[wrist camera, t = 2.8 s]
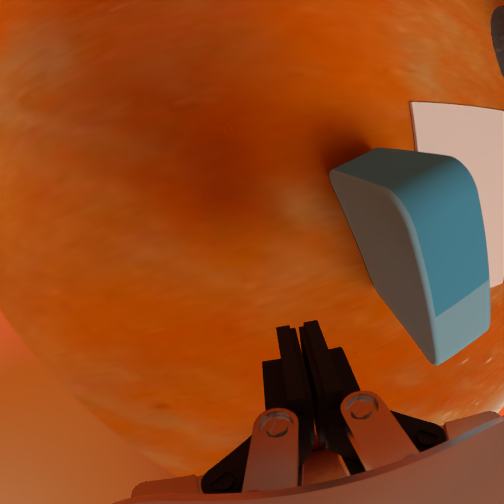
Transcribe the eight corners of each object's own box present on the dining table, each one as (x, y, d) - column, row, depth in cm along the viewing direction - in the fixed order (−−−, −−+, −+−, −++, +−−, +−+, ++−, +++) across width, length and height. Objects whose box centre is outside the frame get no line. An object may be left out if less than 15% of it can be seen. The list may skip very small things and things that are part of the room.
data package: (413, 267, 25) (491, 338, 14) (374, 289, 26) (438, 376, 14) (371, 146, 21) (471, 157, 10) (323, 169, 22) (398, 197, 10)
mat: (409, 102, 20) (411, 101, 19) (506, 111, 19) (508, 111, 19) (413, 311, 27) (415, 312, 26) (500, 281, 26) (502, 283, 26)
